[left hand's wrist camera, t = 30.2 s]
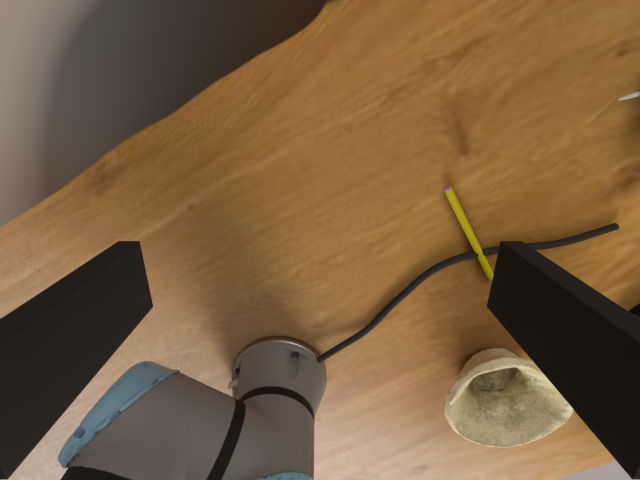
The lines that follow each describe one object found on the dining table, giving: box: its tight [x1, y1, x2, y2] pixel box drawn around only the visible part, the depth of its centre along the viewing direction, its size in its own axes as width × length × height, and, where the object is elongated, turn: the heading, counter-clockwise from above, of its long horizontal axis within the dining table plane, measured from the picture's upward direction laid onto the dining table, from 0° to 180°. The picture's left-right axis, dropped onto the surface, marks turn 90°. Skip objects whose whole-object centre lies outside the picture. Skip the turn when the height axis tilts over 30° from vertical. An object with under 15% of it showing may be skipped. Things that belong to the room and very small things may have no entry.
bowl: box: [444, 348, 574, 447], centre depth 50 cm, size 14×18×15 cm
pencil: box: [444, 186, 494, 281], centre depth 47 cm, size 16×1×1 cm, turn 32°
